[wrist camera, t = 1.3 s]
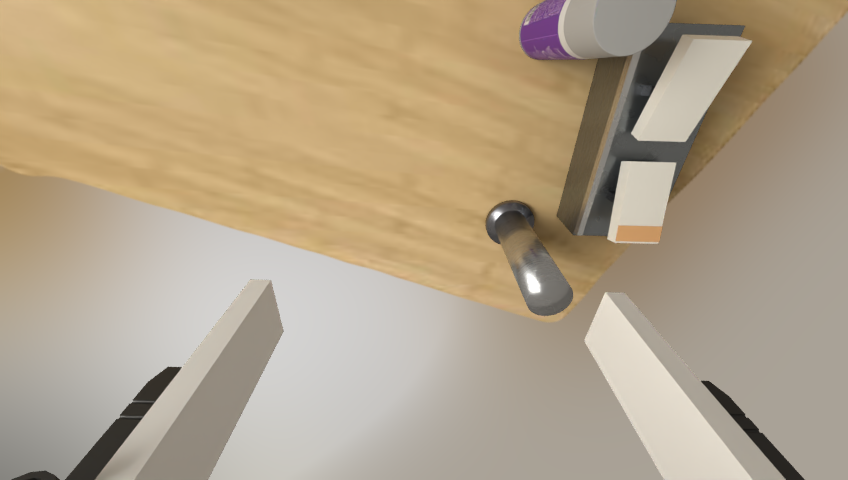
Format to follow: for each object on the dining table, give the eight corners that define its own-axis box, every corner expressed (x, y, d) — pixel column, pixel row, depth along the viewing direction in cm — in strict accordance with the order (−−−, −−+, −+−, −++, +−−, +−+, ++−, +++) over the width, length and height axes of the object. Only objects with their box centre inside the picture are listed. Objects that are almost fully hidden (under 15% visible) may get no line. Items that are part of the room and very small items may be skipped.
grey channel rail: (606, 27, 30) (646, 20, 25) (698, 30, 30) (758, 24, 25) (556, 216, 40) (577, 240, 35) (626, 217, 40) (657, 242, 35)
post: (488, 199, 39) (521, 270, 26) (536, 201, 39) (593, 271, 26) (482, 241, 42) (509, 323, 29) (527, 242, 42) (574, 324, 29)
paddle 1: (621, 161, 31) (631, 161, 29) (665, 162, 31) (677, 162, 29) (607, 239, 33) (615, 243, 31) (648, 240, 33) (658, 244, 32)
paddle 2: (682, 34, 24) (693, 39, 23) (738, 36, 24) (752, 40, 23) (630, 133, 30) (638, 140, 29) (676, 134, 30) (685, 141, 29)
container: (518, 63, 31) (586, 65, 18) (518, 6, 29) (595, -38, 16) (566, 55, 31) (669, 51, 18) (570, -3, 29) (691, -56, 16)
